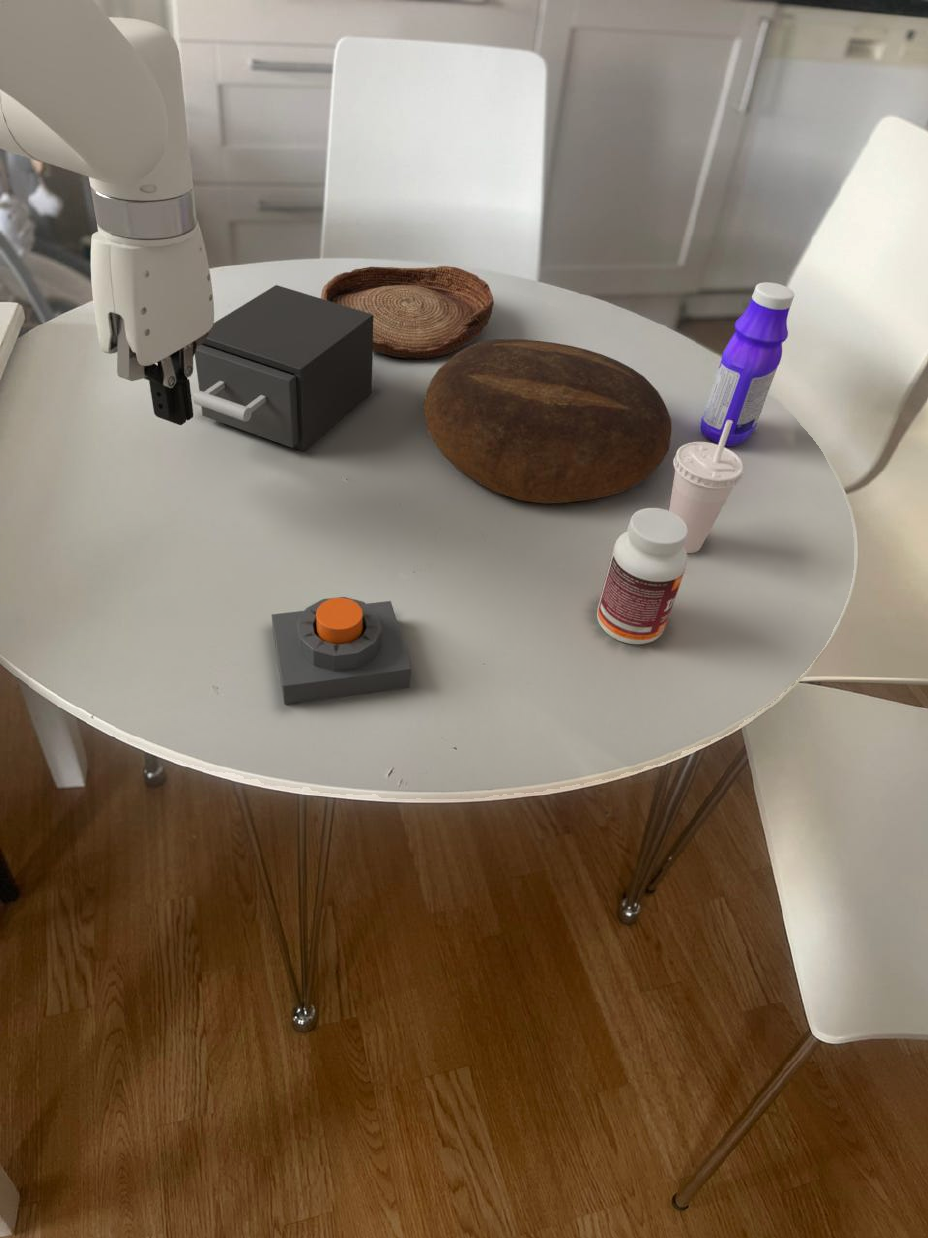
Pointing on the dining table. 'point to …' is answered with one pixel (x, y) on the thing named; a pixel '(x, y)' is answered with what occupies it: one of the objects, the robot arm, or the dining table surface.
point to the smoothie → (703, 485)
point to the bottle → (748, 365)
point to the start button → (339, 621)
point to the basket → (416, 307)
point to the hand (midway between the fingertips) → (174, 416)
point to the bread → (546, 420)
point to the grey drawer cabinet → (305, 352)
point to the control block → (339, 655)
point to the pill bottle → (643, 577)
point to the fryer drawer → (247, 395)
